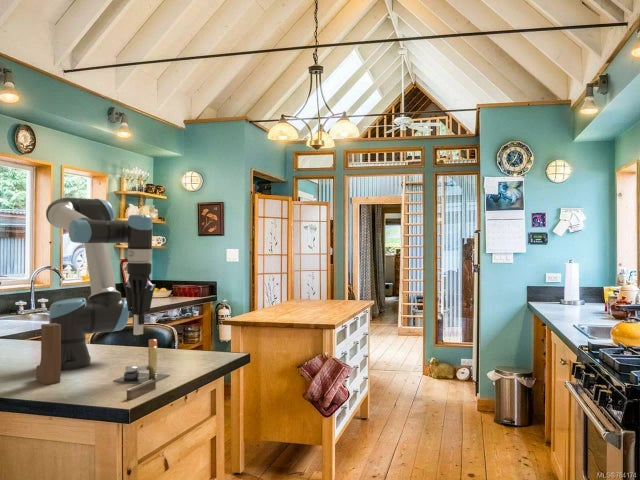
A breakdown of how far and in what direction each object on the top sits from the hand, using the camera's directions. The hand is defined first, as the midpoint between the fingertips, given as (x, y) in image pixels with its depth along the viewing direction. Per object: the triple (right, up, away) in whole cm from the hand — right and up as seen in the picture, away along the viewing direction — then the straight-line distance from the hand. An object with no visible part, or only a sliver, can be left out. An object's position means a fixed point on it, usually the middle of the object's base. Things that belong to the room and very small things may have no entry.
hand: (138, 334), depth 178 cm
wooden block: (-25, -14, -8) cm, 30 cm away
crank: (+3, -11, -6) cm, 12 cm away
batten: (+9, -13, -23) cm, 28 cm away
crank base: (+3, -13, -5) cm, 15 cm away
